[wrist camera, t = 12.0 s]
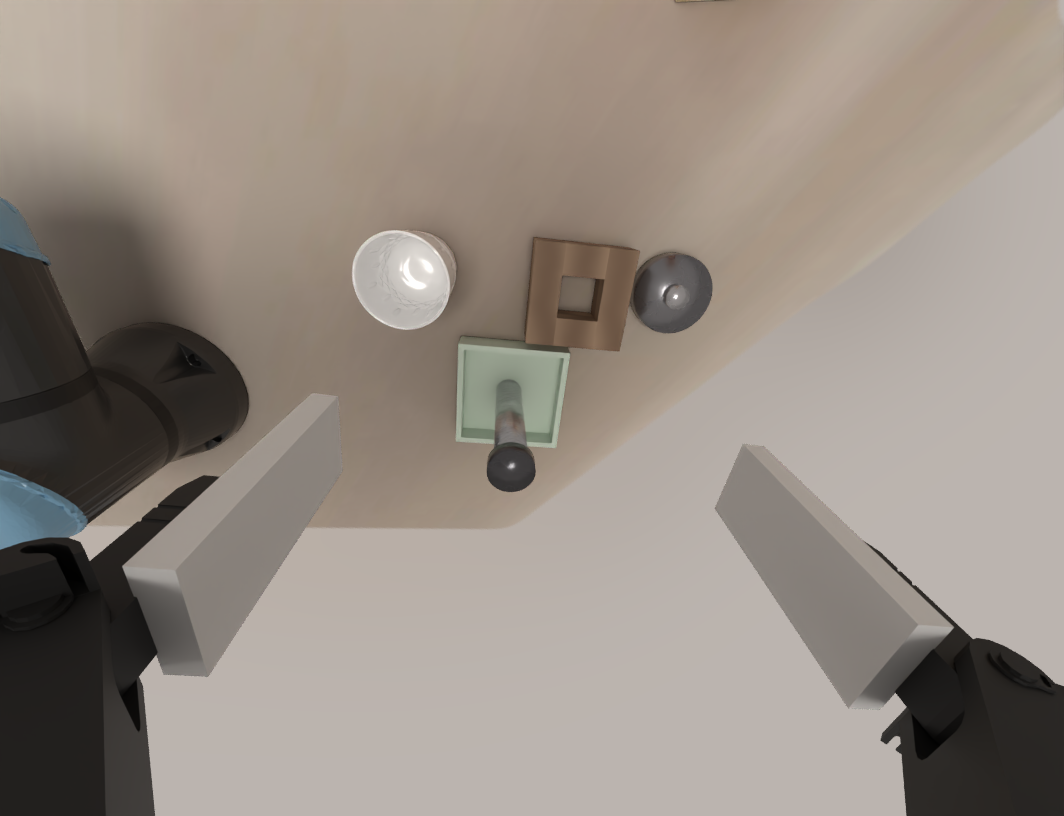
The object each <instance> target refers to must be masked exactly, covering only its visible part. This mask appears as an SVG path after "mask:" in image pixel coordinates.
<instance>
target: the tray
mask: <svg viewBox="0 0 1064 816" xmlns="http://www.w3.org/2000/svg"><path fill="white" fill-rule="evenodd" d="M569 359H570V351H569V349H568V347H563V346H551V345H540V344H528V343H525V341H515V340H503V339H492V338H481V337H469V336H461V338H460V341H459V343H458V375H457V413H456V442H471V443H486V444H494V433H495V407H496V388H497V386H498V384H499V383H500V382H502V381H503V380H507V379H511V380H514V381H516V382H518V383H519V385H520V386H521V391H522V401H523V411H524V421H525V431H526V441H527V446H532V447H547V448H556V445H557V438H558V432H559V425H560V418H561V412H562V405H563V399H564V392H565V385H566V379H567V372H568V365H569Z"/></svg>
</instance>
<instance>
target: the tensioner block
mask: <svg viewBox="0 0 1064 816" xmlns="http://www.w3.org/2000/svg"><path fill="white" fill-rule="evenodd" d="M639 254H640V251H638V250H635V249H632V248H629V247H619V246H610V245H601V244H592V243H583V242H574V241H565V240H556V239H547V238H538V237H534V240H533V250H532V260H531V270H530V280H529V291H528V301H527V311H526V321H525V332H524V334H525V343H528V344H540V345H551V346H563V347H574V348H586V349H597V350H608V351H620V346H621V341H622V336H623V332H624V327H625V322H626V317H627V312H628V307H629V302H630V298H631V293H632V288H633V283H634V278H635V273H636V268H637V263H638V259H639ZM562 275H565V276H575V277H585V278H595V279H596V283H595V289H594V295H593V301H592V307H591V313H586V312H576V311H565V310H558V304H559V297H560V289H561V282H562Z"/></svg>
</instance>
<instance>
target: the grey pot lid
mask: <svg viewBox="0 0 1064 816" xmlns="http://www.w3.org/2000/svg"><path fill="white" fill-rule="evenodd" d="M711 296H712V280H711V276H710V274H709V272H708V270H707V268H706V267H705V266H704V265H703V263H701V262H700V261H699V260H697V259H695V258H694V257H691V256H687V255H684V254H680V253H671V252H670V253H664V254H660V255H657V256H655V257H653V258H651V259H650V260H648V261H647V262H646V263H645V264H644V265H643V266H642V267H641V268H640V269H639V270H638V272H637V273H636V275H635V278H634V283H633V288H632V293H631V298H630V303H631V307H632V309H633V311H634V313H635V315H636V316H637V317H638V318H639V319H640V320H641V321H642V322H643V323H644V324H645V325H647V326H648V327H649V328H651V329H652V330H655V331H657V332H661V333H675V332H679V331H682V330H684V329H686V328H688V327H690V326H692V325H693V324H694V323H695V322H697V321H698V320H699V319H700V318H701V316H702V315H703V314H704V312H705V311H706V309H707V307H708V305H709V303H710V300H711Z"/></svg>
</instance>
